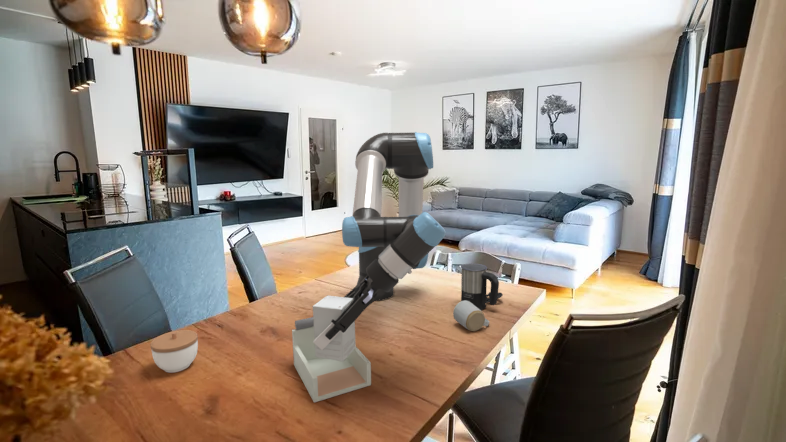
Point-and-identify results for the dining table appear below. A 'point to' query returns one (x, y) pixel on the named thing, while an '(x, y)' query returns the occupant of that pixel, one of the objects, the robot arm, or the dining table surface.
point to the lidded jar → (175, 350)
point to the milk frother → (478, 285)
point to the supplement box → (322, 319)
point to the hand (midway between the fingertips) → (321, 335)
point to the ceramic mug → (469, 316)
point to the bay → (326, 366)
